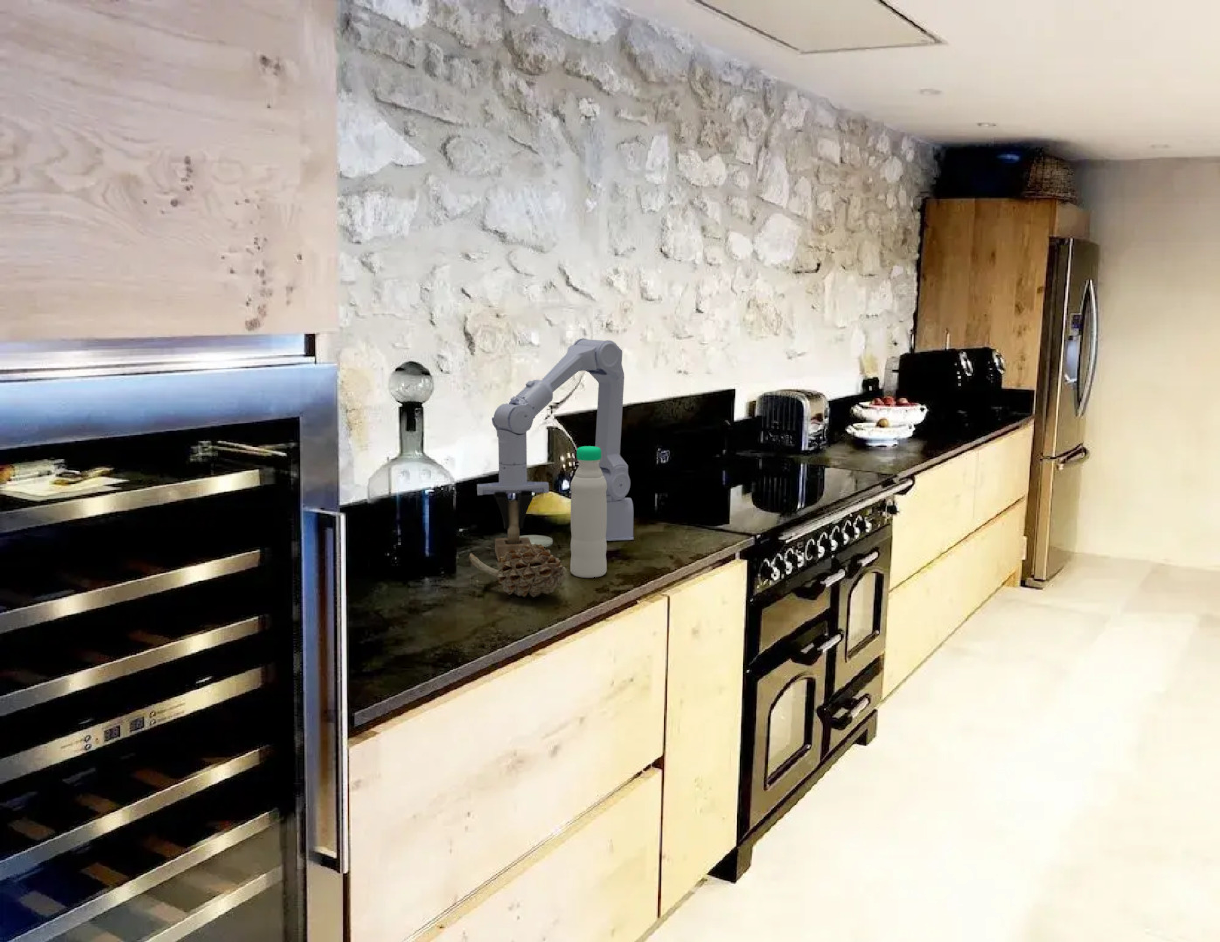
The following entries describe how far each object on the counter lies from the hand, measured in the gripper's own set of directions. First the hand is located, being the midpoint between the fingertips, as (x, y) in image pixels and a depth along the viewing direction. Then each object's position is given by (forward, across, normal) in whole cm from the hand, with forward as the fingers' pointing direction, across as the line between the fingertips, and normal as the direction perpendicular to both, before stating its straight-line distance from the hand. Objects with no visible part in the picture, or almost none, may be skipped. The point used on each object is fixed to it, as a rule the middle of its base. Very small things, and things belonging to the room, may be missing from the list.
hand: (513, 527), depth 224 cm
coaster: (+6, -5, -10) cm, 13 cm away
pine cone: (+6, +3, +27) cm, 28 cm away
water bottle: (+6, -13, +16) cm, 22 cm away
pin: (+3, 0, 0) cm, 3 cm away
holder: (+6, 0, 0) cm, 6 cm away
